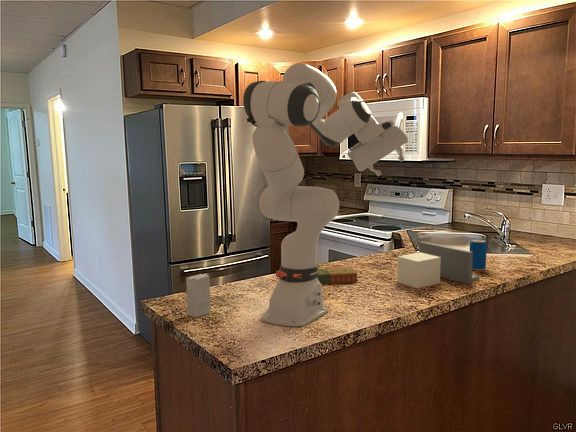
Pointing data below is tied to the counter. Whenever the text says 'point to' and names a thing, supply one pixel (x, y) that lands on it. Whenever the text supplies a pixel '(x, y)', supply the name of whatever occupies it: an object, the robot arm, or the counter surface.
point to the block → (418, 270)
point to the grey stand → (451, 262)
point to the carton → (337, 275)
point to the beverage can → (478, 254)
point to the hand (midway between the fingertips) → (391, 167)
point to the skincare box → (198, 295)
